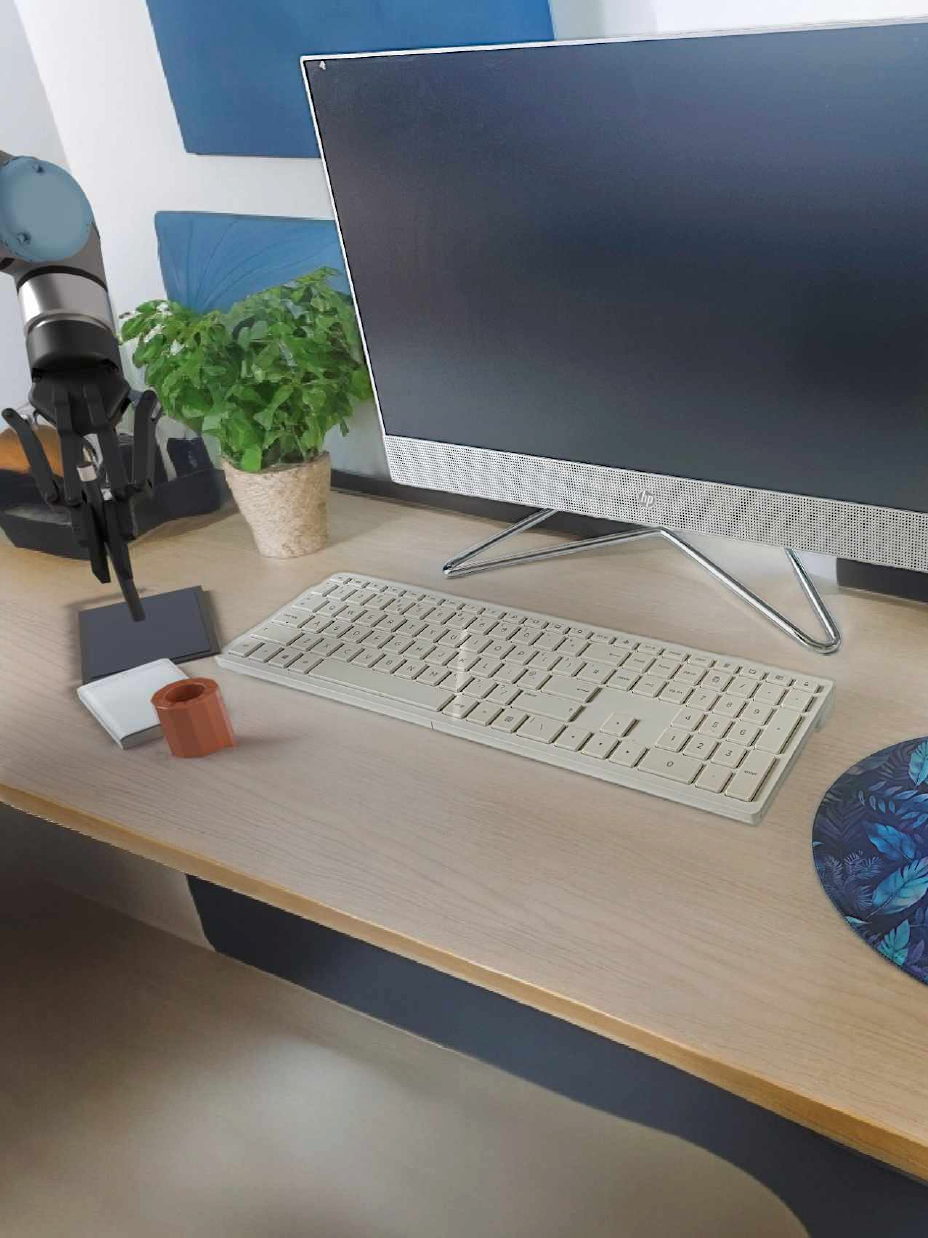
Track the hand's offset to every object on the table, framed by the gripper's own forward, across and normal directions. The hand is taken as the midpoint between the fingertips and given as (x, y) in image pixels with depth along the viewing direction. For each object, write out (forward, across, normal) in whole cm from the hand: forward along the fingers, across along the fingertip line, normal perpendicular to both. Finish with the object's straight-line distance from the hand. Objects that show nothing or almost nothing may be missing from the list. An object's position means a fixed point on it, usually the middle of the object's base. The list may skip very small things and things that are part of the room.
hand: (113, 575), depth 105 cm
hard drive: (+12, 0, -3) cm, 12 cm away
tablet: (+1, +1, -14) cm, 14 cm away
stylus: (+2, 0, -7) cm, 7 cm away
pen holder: (+19, -6, +4) cm, 21 cm away
